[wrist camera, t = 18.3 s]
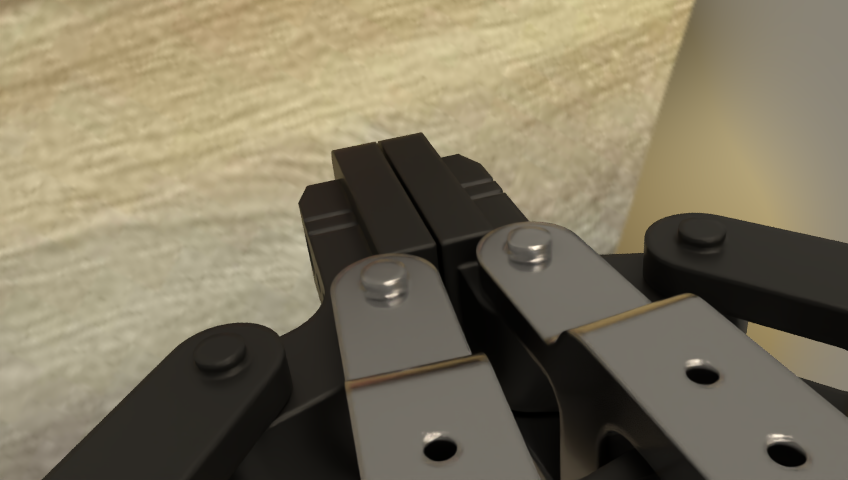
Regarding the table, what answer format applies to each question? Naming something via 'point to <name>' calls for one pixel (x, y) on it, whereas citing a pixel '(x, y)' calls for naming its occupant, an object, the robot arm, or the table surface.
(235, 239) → the table surface
